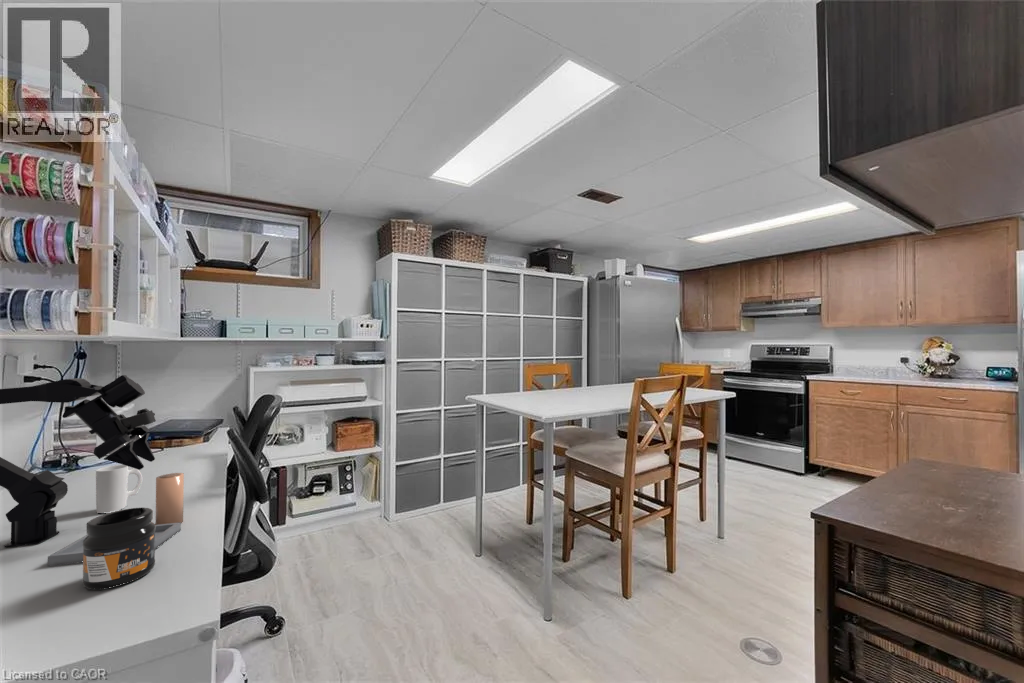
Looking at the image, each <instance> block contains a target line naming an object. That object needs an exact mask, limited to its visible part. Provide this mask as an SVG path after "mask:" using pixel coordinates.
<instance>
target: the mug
mask: <svg viewBox="0 0 1024 683" xmlns="http://www.w3.org/2000/svg"><path fill="white" fill-rule="evenodd" d="M131 468H132V467H131ZM132 474H134V475H135V476H136V477H137V484H136V485H135V487H134V488H133V489H132V490H128V484H129V483H128V481H129V475H132ZM142 485H143V475H142V473H141V471H140V470H138V469H135V468H132V469H129V466H126V465H123V464H118V465H110V466H109V465H108V466H103V467H100V468H98V469H97V468H96V469H95V507H96V508H95V509H96V513H97V514H98V513H104V512H110V511H114V510H118V509H121V508H124V507H125V506H128V505H127V504H128V499H129V498H130V497H132V496H137V495H138V492H139V491H140V488H141V487H142Z"/></svg>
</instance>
